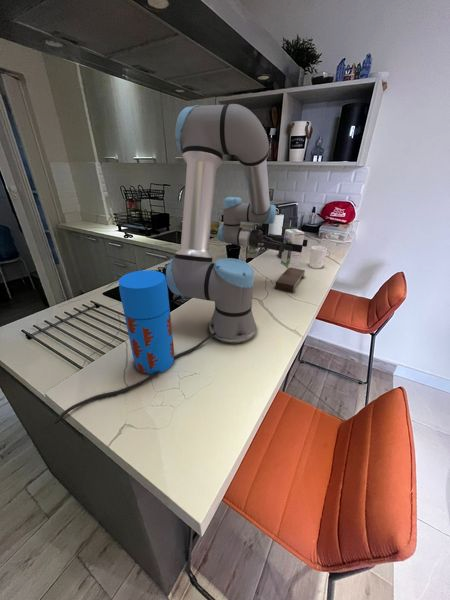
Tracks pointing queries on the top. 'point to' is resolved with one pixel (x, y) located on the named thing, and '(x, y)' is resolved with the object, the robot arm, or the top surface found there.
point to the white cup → (317, 256)
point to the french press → (286, 229)
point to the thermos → (148, 319)
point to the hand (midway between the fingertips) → (304, 246)
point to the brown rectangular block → (289, 279)
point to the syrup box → (291, 257)
